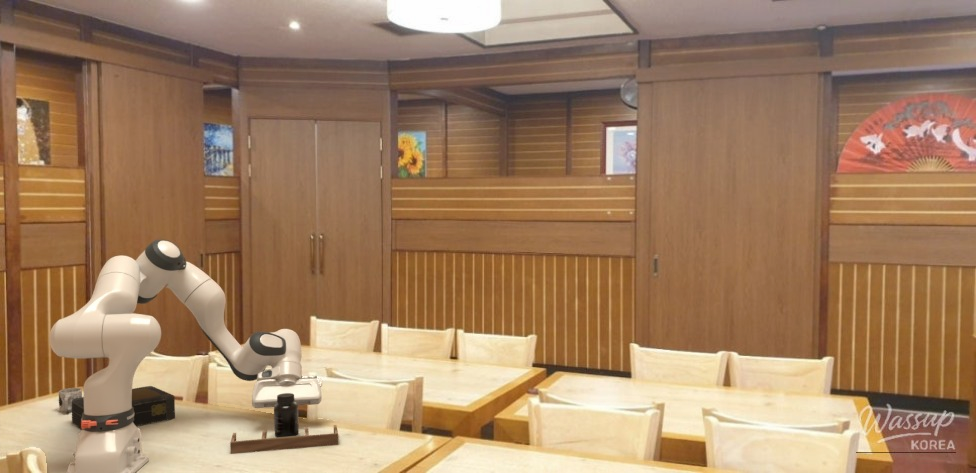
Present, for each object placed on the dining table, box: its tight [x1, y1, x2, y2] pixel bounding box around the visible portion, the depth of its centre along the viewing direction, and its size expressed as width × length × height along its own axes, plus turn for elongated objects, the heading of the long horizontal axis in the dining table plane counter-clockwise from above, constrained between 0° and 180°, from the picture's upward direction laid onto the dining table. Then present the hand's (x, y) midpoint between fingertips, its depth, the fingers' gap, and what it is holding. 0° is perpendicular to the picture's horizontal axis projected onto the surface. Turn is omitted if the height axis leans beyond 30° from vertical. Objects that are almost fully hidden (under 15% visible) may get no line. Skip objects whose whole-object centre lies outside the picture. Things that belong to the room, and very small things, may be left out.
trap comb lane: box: [229, 424, 339, 455], centre depth 211 cm, size 18×29×3 cm, turn 105°
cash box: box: [71, 385, 176, 430], centre depth 231 cm, size 25×20×8 cm
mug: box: [58, 387, 83, 414], centre depth 241 cm, size 10×7×7 cm
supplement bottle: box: [273, 393, 300, 438], centre depth 214 cm, size 7×7×12 cm
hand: (287, 417), depth 217 cm, fingers closed
